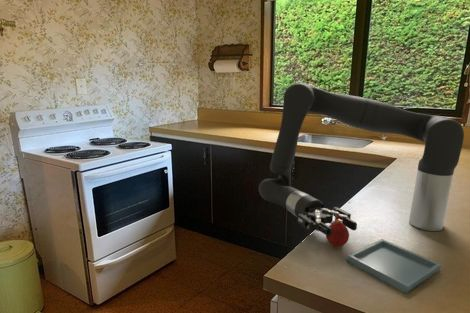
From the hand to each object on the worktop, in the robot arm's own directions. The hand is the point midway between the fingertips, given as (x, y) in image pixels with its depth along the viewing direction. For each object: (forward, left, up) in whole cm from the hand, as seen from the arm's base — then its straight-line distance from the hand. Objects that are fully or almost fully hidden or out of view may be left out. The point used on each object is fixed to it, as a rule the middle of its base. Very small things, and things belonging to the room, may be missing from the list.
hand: (343, 229), depth 87 cm
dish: (-4, +12, -6) cm, 14 cm away
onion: (0, -2, -6) cm, 7 cm away
